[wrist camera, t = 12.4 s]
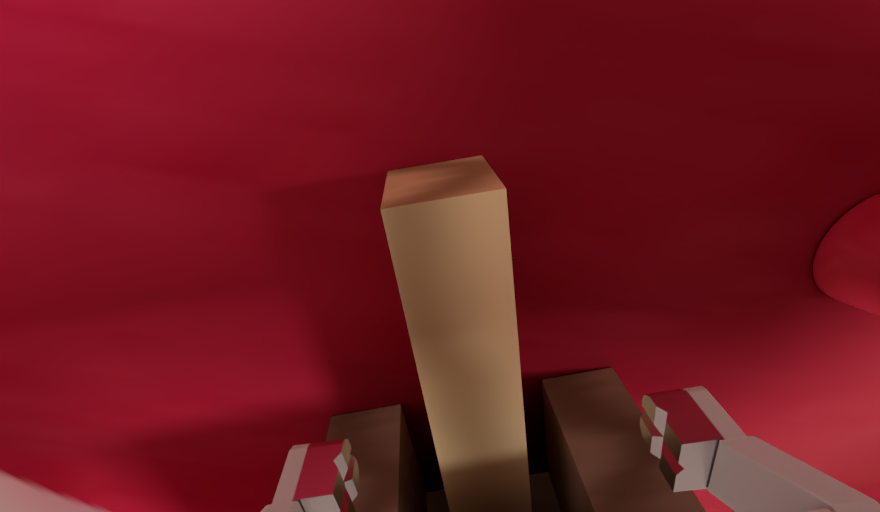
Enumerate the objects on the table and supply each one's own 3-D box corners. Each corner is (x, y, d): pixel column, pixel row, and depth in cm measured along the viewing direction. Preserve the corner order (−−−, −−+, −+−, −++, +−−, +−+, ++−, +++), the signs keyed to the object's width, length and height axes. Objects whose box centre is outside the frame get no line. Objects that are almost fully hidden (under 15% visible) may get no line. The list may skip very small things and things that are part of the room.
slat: (481, 153, 17) (506, 188, 13) (511, 442, 25) (532, 525, 21) (388, 169, 17) (380, 209, 13) (447, 452, 25) (455, 537, 21)
